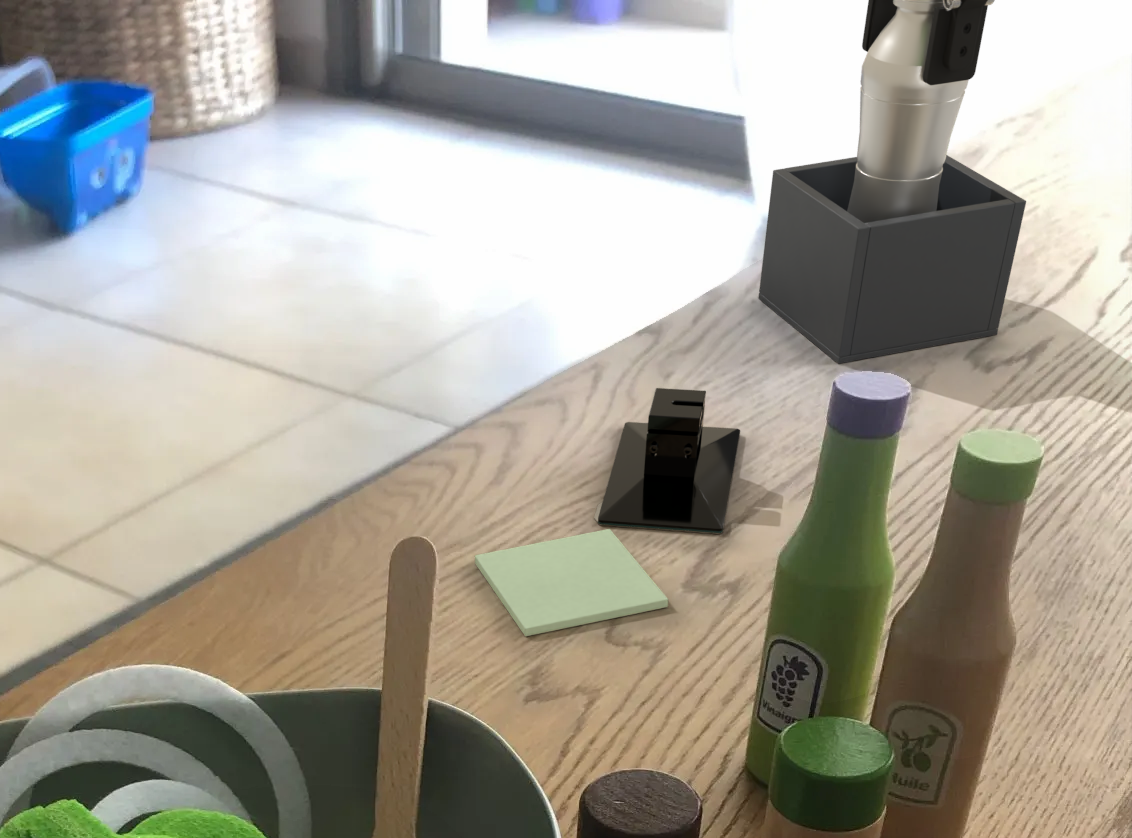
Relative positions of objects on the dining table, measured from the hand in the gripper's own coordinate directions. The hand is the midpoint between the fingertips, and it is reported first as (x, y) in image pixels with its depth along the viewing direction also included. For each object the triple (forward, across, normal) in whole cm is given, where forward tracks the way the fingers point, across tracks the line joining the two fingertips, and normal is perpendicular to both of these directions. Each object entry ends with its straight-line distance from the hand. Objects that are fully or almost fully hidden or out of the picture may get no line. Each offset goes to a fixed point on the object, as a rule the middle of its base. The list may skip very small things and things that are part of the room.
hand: (916, 61), depth 100 cm
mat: (+15, -25, +32) cm, 43 cm away
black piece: (+16, -16, +22) cm, 31 cm away
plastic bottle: (+15, 0, 0) cm, 15 cm away
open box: (+15, 0, 0) cm, 15 cm away
